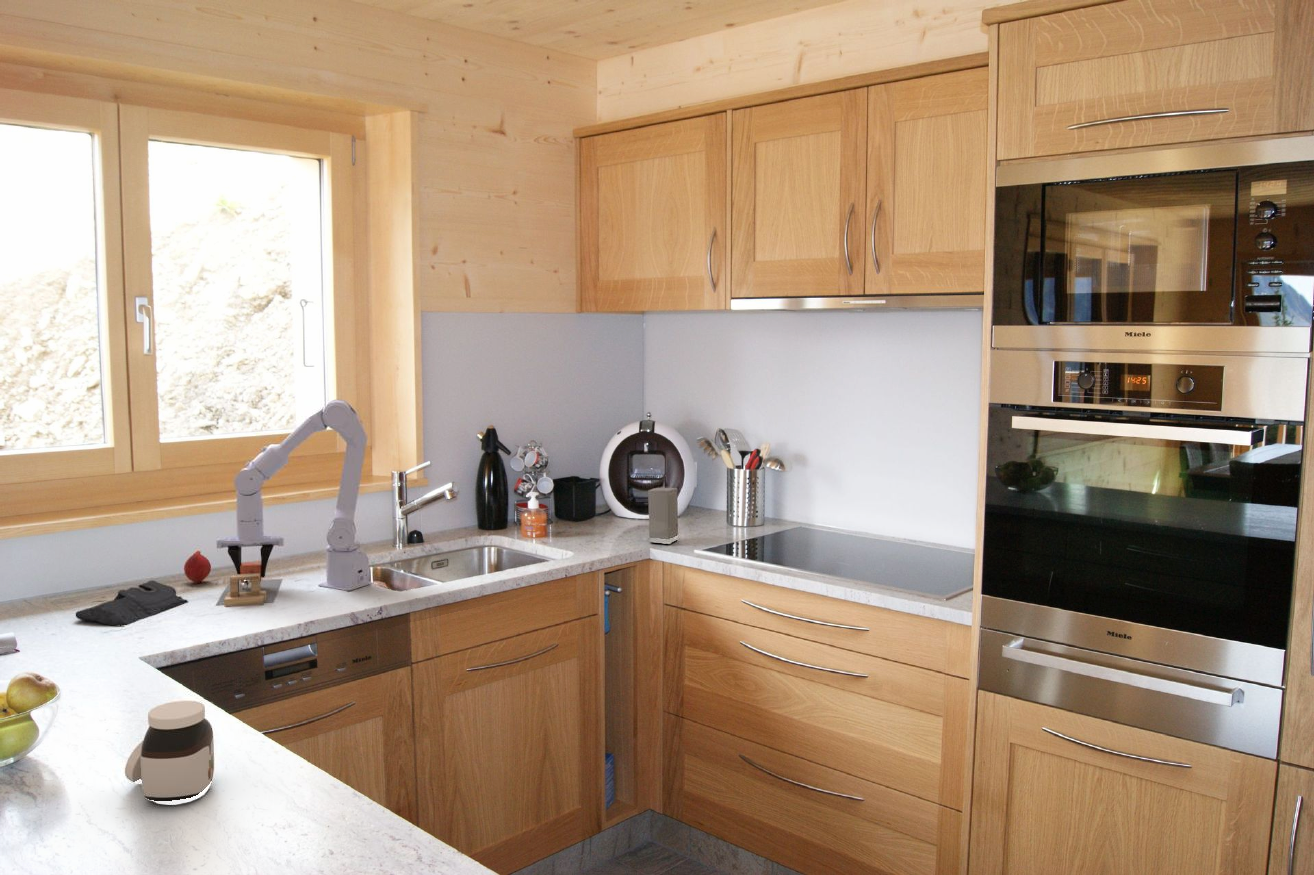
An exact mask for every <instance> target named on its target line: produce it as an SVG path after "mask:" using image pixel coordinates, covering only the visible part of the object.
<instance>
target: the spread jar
mask: <svg viewBox="0 0 1314 875" xmlns="http://www.w3.org/2000/svg"><path fill="white" fill-rule="evenodd" d="M205 708H206V707H205V704H203V702H200V701H195V700H179V701H178V700H176V701H169V702H166V703H162V704H159V705H157V706H155V707H153V708H151V709H150V710H149V711H148V713H147V719H148V720H147V722H148V726H149V727H148V728H147V730H146V732H145V735H144V738H143V740H142V741H141V742H139V744H138V745H136V747H135V748H134V749H133V751H132V752H130V755H129V757H128V758H127V761H126V764H125V767H124V775H125V777H126V779H127V780H129V781H130V782H131V783H133V782H135V781H137V780H139V779H141V780H142V785H141V790H142V794H143V797H144V798H145V799H146V798H147V799H149V800H154V801H172V800H180V799H186V798H191V797H193V796H196V795H198V794H199V793H200V792H202V791H203V790H204V789H205V788H206V787H207V786H208V785H209V784H210V782H211V781H212V782H213V777H214V771H215V745H214V742H215V740H214V731H213V726H212V724H211V723H210V722H209V720H208V719H207V718H206V709H205ZM147 799H146V800H147Z"/></svg>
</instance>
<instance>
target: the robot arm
mask: <svg viewBox="0 0 1314 875" xmlns="http://www.w3.org/2000/svg"><path fill="white" fill-rule="evenodd" d="M327 428H330V429H331V430H332V431H334V432H336V433H338V434H339V436H340V437H341V438H342V439H343V441H344V442H345V443H346V447H345V451H344V452H345V454H344V458H343V464H342V469H341V470H342V471H341V477H340V481H339V488H338V496H337V500H336V507H335V513H334V516H333V520H332V521H331V523H330V524H329V526H328V531H327V533H326V541H327V544H328V545H327V546H325V563H326V564H325V566H326V568H325V569H326V581H325V582H321V583H318V587H321V588H327V589H335V590H340V591H341V590H342V591H348V592H349V591H352V590H355V589H359V588H362V587H365V586H368V585H371V584H372V582H371V581H370V578H369V577H370V576H369V575H370V574H369V573H370V572H369V571H370V570H369V569H370V568H369V565H370V564H369V557H368V554H367V553H366V552H365V551H362V550H360V549H359V547H358V544H357V543H356V542H355V538H356V532H357V528H356V525H355V520H354V519H355V513H356V508H357V507H356V506H357V500H358V496H359V495H358V494H359V490H360V485H361V484H360V483H361V478H362V470H363V467H364V466H363V465H364V460H365V455H366V447H367V443H368V435H367V434H368V433H367V432H366V430H365V428H364V425H363V424H362V422H361V420H360V418H359V416H358V413H357V410H356V409H354V407H352V406H351V404H350V403H348V402H347V400H343V399H337V398H336V399H333V400H331V401H329V402H328V403H327V404H326V405H325V407H324V406H323V407H321V408H320V409H318V410H317V411H315V412H314V413H312V414H310V415H309V416H308V417H306V419H305V420H304V421H303V422H302V423H301V424H300V425H299V426H297V427H296V428H295V429H294V430H293V431H292V432H291V433H290V434H289V435H288V436H287V437H286V438H285V439H284V440H282V442H280V443H279V444H276V443H275V444H273V443H271V444H269V445H268V446H266V445H265V446H263V447H262V448H261V449H260V451H261V453H259V454H258V455H257V456H256V457H255V458H254V459H252V460H251V461H247V462H246V463H245V465H244V466H246V467H244V468H241V470H240V471H238V473H237V474H236V476H235V477H234V480H233V485H234V488H235V489H236V494H235V495H236V501H235V505H236V506H235V508H236V532H237V534H236V536H234V537H224V538H222V537H221V538H217V539H216V541H215V542H216V549H224V548H227V553H228V556H229V558H230V559H231V562H233V566H234V567H235V571H236V573H237V574H241V573H240V565H241V564H242V548H243V547H244V548H245V547H246V548H247V547H248V548H249V547H260V561H261V577H263V578H265V577H266V570H267V566H268V562H269V559H270V556H271V554H272V551H273V549H274V546H278V547H283V546H284V545H285V536H284V535H283V536H281V535H280V536H277V535H275V536H274V535H264V508H263V507H264V506H263V498H262V488H261V487H262V486H263V485H264V482H266V481H269V480H271V478H272V477H274V476H275V475H276V474H277V473H278V472H279V471H281V470H282V468H284V467H285V466H286V465H287V464H288V463H289V461H290V456H289V455H290V454H291V452H293V451H294V450H296V449H297V447H299V446H300V445H301V444H302V443H303V442H305V441H306V440H307V439H308V438H309V437H311V436H312V435H313V434H314V433H317V432H322V431H326V430H327Z"/></svg>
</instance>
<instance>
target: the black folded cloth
mask: <svg viewBox="0 0 1314 875" xmlns="http://www.w3.org/2000/svg"><path fill="white" fill-rule="evenodd" d="M188 603H189V600H188V599H184V598H183V597H182V596H178V595H177V590H176V589H175V588H174V587H173V586H170V585H167V584H163V583H160V582H157V581H156V580H149V581H147V582H145V583H144V582H143V583H142V584H139V585H138V587H134V586H133V587H129V588H127V589H122V590H118V592H117V595H116V597H115V598H114V599H113V600H109V601H105V602H102V603H99V604H97V605H94V606H92V607H88V608H84V609H80V610H78V611H76V612H75V617H76V619H78V620H81V621H87V622H95V621H96V622H97V623H100V624H103V625H104V624H105V625H108V626H112V625H120V626H119V627H122V626H121V625H125V626H128V625H131V624H134V623H136V622H139V621H141V620H144V619H148V618H149V617H153V616H157V615H159V614H161V613H164V612H166V611H169V610H171V609H174V608H177V607H179V606H183V605H184V604H188Z"/></svg>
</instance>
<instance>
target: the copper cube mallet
mask: <svg viewBox="0 0 1314 875" xmlns="http://www.w3.org/2000/svg"><path fill="white" fill-rule="evenodd" d="M240 573H241V574H258V573H260V582H261V581H262V580H264V577H261V560H260V561H241V565H240ZM240 581H241V583H242V584H241V585H240V588H241V589H242V590H246V589H247V588H248V584H249V582H251V580H240Z"/></svg>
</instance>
